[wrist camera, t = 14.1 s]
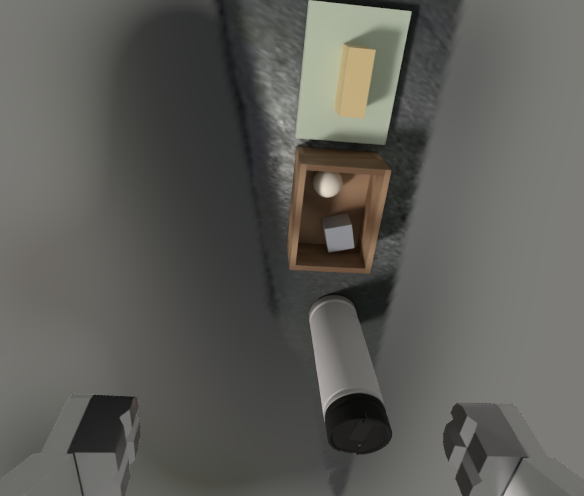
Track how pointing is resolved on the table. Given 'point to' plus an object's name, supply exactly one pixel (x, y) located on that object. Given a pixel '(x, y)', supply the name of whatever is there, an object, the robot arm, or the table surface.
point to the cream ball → (327, 183)
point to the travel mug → (347, 379)
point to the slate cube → (338, 232)
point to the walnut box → (336, 208)
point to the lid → (350, 72)
